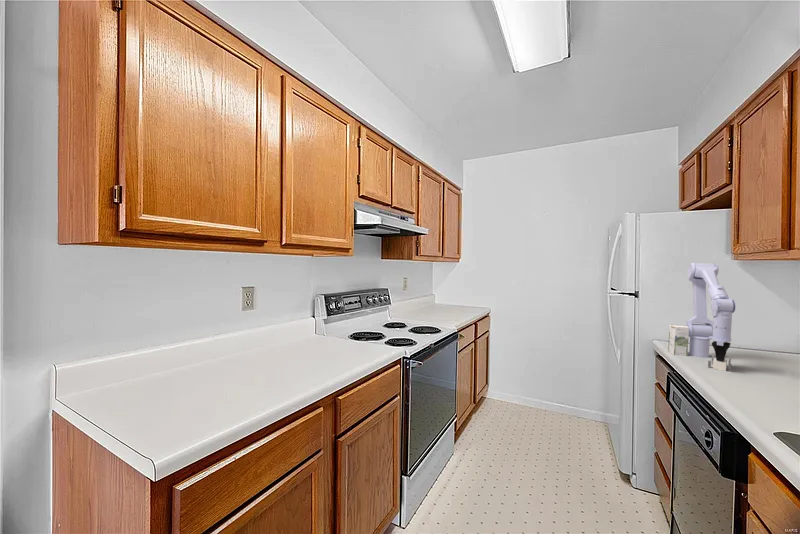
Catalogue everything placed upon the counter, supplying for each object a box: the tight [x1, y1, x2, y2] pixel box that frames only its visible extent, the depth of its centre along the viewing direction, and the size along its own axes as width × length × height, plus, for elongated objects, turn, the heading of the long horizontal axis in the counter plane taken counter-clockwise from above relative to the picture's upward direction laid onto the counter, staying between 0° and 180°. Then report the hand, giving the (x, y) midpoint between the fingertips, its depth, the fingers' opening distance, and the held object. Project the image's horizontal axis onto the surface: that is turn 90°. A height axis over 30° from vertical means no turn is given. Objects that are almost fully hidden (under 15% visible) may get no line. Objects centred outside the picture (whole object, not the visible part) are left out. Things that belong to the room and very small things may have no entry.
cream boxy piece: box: [711, 352, 732, 368], centre depth 157 cm, size 3×6×4 cm, turn 46°
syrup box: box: [667, 323, 690, 357], centre depth 174 cm, size 6×6×14 cm
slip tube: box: [712, 357, 728, 372], centre depth 153 cm, size 8×4×6 cm, turn 136°
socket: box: [707, 360, 733, 372], centre depth 151 cm, size 2×7×3 cm, turn 46°
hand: (720, 360), depth 153 cm, fingers closed on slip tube, 3 cm apart
